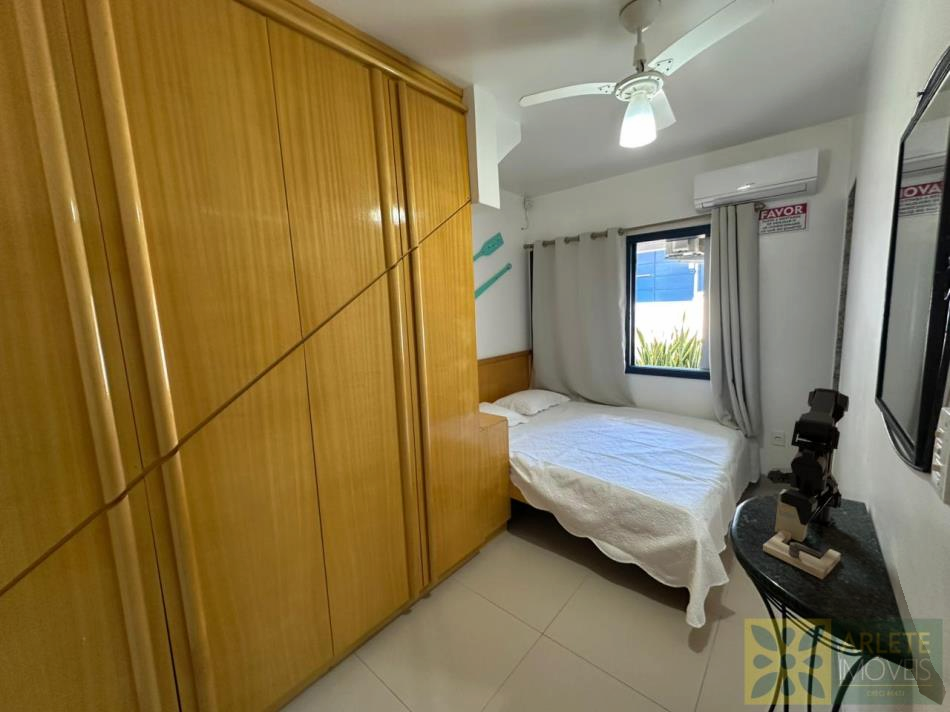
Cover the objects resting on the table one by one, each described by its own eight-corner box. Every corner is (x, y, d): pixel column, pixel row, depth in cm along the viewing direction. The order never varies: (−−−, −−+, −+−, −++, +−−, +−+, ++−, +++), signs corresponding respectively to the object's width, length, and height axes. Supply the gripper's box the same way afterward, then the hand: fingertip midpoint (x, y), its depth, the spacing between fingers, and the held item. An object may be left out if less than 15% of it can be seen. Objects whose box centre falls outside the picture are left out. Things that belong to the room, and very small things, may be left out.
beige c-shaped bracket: (781, 535, 102) (783, 517, 101) (839, 560, 91) (842, 540, 90) (762, 551, 96) (764, 532, 95) (822, 579, 85) (824, 558, 85)
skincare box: (774, 531, 103) (777, 493, 102) (779, 526, 106) (782, 488, 104) (802, 543, 98) (806, 502, 97) (807, 536, 101) (811, 497, 99)
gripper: (788, 447, 103) (784, 497, 105) (758, 464, 94) (754, 518, 96) (841, 461, 93) (835, 515, 95) (813, 481, 84) (808, 540, 86)
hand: (806, 521), depth 94 cm, fingers open, 4 cm apart
